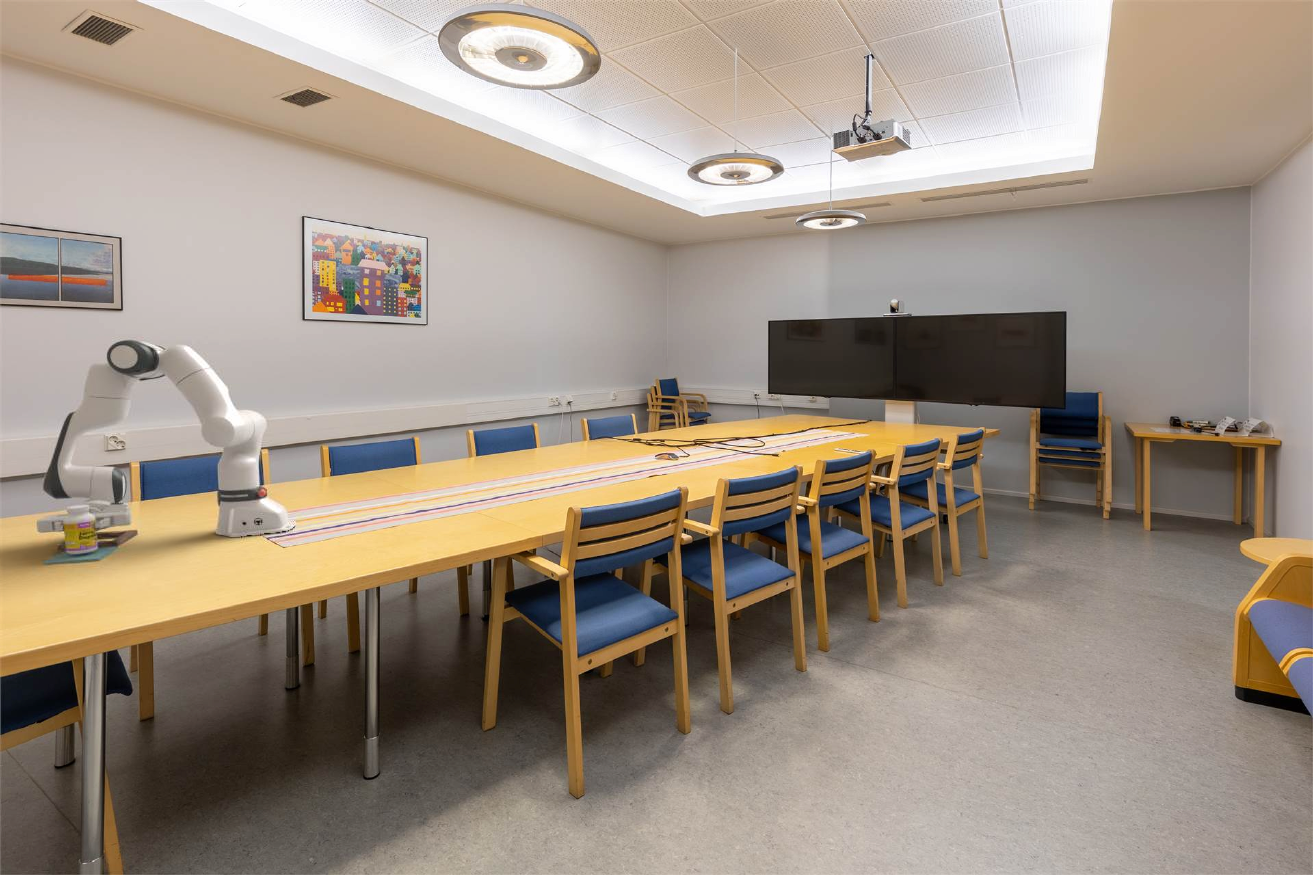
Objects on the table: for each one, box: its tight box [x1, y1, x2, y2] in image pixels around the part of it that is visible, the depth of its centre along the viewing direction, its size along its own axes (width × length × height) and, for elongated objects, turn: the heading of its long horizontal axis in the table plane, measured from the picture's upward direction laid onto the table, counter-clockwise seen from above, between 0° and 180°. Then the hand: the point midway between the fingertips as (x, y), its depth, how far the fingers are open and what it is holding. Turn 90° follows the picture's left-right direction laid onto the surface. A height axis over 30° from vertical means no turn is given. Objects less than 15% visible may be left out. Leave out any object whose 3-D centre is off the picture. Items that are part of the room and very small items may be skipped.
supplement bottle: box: [63, 504, 98, 554], centre depth 177 cm, size 7×7×13 cm
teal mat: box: [42, 546, 120, 565], centre depth 178 cm, size 12×12×1 cm
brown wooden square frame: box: [56, 529, 139, 552], centre depth 191 cm, size 14×14×2 cm
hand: (79, 527), depth 176 cm, fingers open, 7 cm apart
